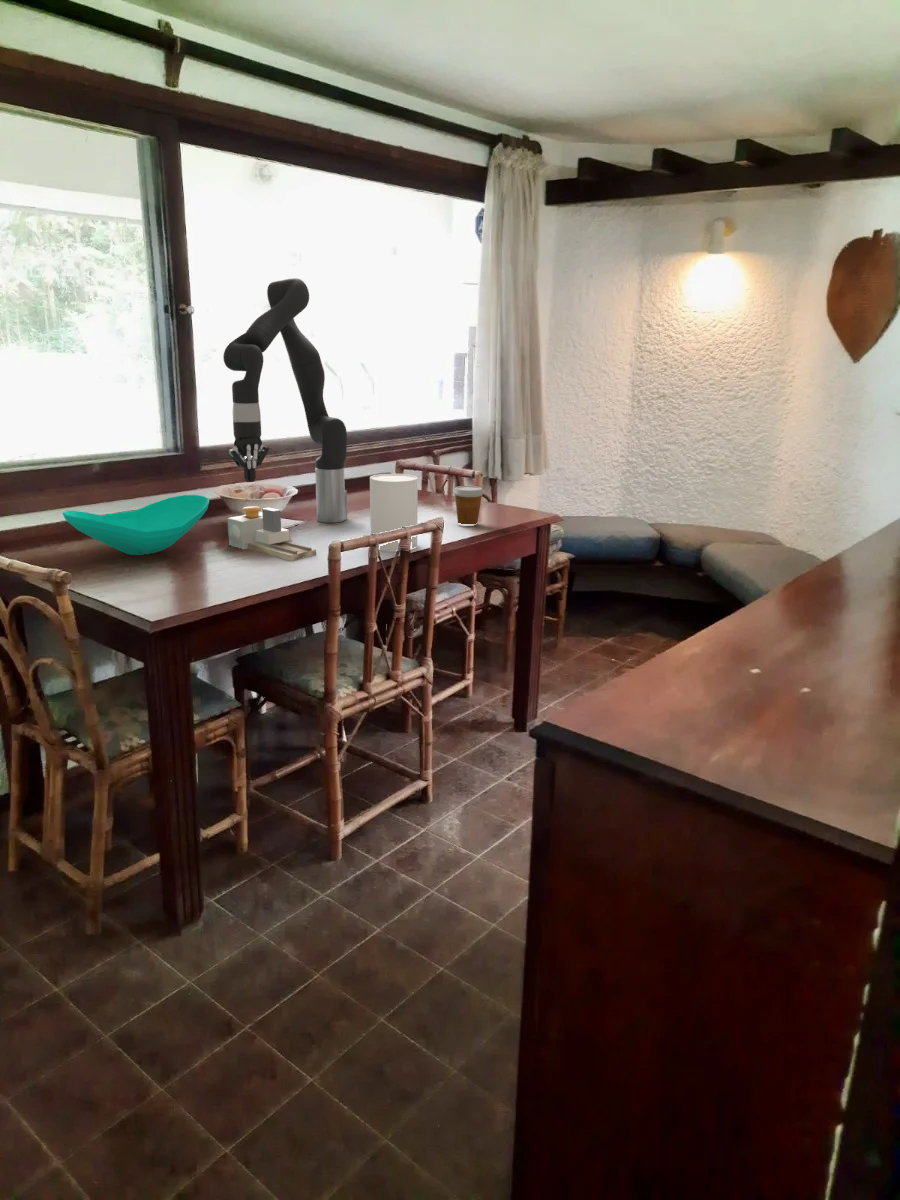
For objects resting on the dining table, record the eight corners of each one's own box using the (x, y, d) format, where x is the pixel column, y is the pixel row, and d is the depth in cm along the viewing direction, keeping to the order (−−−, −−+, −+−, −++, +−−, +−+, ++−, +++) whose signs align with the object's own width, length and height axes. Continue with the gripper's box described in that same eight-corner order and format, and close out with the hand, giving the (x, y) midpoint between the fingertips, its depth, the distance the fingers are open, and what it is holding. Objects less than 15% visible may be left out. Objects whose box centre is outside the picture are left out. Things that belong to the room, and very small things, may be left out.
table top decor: (184, 532, 253) (180, 489, 249) (233, 549, 235) (230, 503, 231) (50, 554, 226) (43, 506, 222) (94, 575, 208) (88, 523, 204)
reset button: (254, 517, 243) (253, 505, 242) (264, 520, 240) (264, 508, 239) (240, 520, 239) (239, 508, 238) (250, 522, 236) (249, 510, 235)
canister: (373, 539, 249) (372, 473, 243) (418, 541, 248) (419, 474, 242) (367, 551, 236) (367, 481, 230) (415, 552, 236) (415, 482, 229)
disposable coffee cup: (448, 526, 268) (449, 489, 265) (459, 520, 277) (460, 484, 273) (476, 529, 265) (477, 491, 261) (486, 523, 273) (487, 486, 270)
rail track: (273, 543, 243) (273, 535, 242) (316, 554, 231) (316, 546, 230) (248, 548, 236) (247, 540, 236) (290, 560, 224) (290, 552, 224)
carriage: (276, 536, 240) (274, 506, 237) (289, 540, 236) (288, 509, 233) (256, 540, 235) (254, 509, 232) (269, 544, 231) (267, 512, 228)
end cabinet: (263, 538, 248) (261, 511, 246) (278, 542, 244) (276, 515, 241) (228, 545, 239) (226, 518, 237) (242, 549, 235) (240, 522, 232)
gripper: (258, 417, 238) (261, 477, 243) (218, 419, 228) (222, 482, 234) (274, 419, 233) (277, 480, 239) (234, 422, 224) (238, 486, 229)
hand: (250, 481), depth 236 cm, fingers closed
